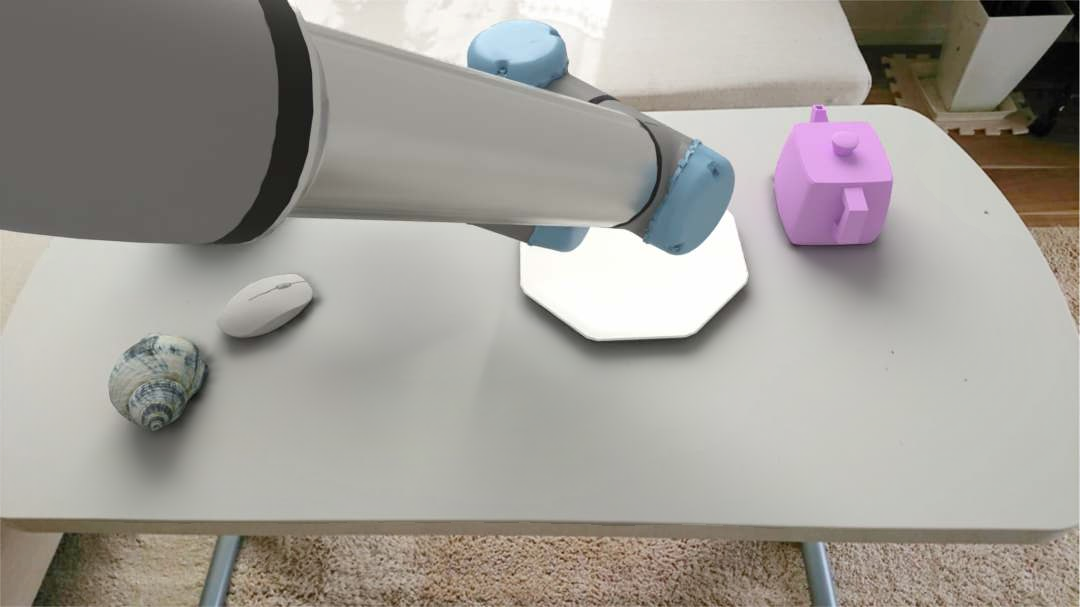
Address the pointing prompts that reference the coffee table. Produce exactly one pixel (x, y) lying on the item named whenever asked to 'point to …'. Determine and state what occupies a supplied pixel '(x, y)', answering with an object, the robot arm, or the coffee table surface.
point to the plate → (635, 283)
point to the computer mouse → (264, 305)
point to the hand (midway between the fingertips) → (252, 118)
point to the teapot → (832, 182)
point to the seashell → (156, 380)
